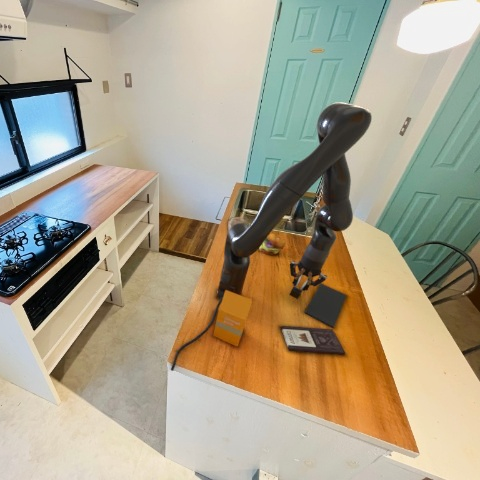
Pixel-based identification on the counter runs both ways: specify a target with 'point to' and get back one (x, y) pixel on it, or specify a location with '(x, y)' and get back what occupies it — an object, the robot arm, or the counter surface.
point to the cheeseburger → (272, 244)
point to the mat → (326, 305)
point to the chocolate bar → (312, 340)
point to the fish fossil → (235, 221)
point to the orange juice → (232, 317)
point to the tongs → (295, 291)
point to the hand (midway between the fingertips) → (299, 287)
